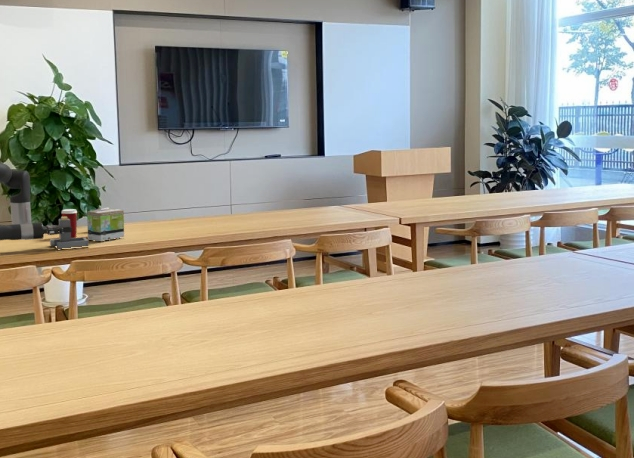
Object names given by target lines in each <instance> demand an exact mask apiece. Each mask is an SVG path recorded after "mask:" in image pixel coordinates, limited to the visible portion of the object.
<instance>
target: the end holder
mask: <svg viewBox="0 0 634 458" xmlns="http://www.w3.org/2000/svg"><path fill="white" fill-rule="evenodd" d="M53 239H54V243H55V246H57V249H62V248H71V247H82V246H90V245H89V240H88V238H86V237H85V236H81V237H80V236H79V237H76V238H71V242H60V238H53ZM57 249H56V250H57Z"/></svg>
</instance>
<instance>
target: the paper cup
mask: <svg viewBox="0 0 634 458" xmlns="http://www.w3.org/2000/svg"><path fill="white" fill-rule="evenodd" d="M60 213H61V217H67V219H70V226H71V227H72V232H71V238H77V234H78V233H77V231H78V230H77V223H78V222H77V219H78V218H77V216H78V215H77V213H78V211H77V209H73V208H67V209H65V208H64V209H62V210H61V212H60Z"/></svg>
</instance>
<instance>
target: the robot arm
mask: <svg viewBox="0 0 634 458" xmlns="http://www.w3.org/2000/svg"><path fill="white" fill-rule="evenodd" d="M0 184H3V185H4V186H6V187H7V188H9V189H12V190H13V189H14V190H17V189H18V190H20V192H19V193H17V194H15V195H12V196H10V197H9V201H10V203H9V204H10V214H11V215H10V217H11V218H10V219H11V224H7V225H5V224H0V241H6V240H7V241H20V240H23V241H27V240H29V241H31V240H43V239H44V234H45V235H47V236H52V235H59V234H63V233H64V232H72V227H65V228H63V227H61V228H59V224H55V225H54V224H52V225H51V224H47V225H45V226H44V225H43V222H39V221H38V222H32V211H31V177H30V173H29V172H28V171H27V170H14V169H13V170H12V168H11V167H10V166H8V164H6V163H4V162H1V161H0ZM59 230H60V232H59Z"/></svg>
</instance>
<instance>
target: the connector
mask: <svg viewBox="0 0 634 458" xmlns="http://www.w3.org/2000/svg"><path fill="white" fill-rule="evenodd" d="M58 225H59V228H61V227H63V228H65V227H71V226H70V219H67V217H62V216H61V217H60V218H59V219H58ZM58 232H60V230H59V231H58ZM58 237H59V238H58V239H60V242H71V232H64V233H63V234H58Z"/></svg>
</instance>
